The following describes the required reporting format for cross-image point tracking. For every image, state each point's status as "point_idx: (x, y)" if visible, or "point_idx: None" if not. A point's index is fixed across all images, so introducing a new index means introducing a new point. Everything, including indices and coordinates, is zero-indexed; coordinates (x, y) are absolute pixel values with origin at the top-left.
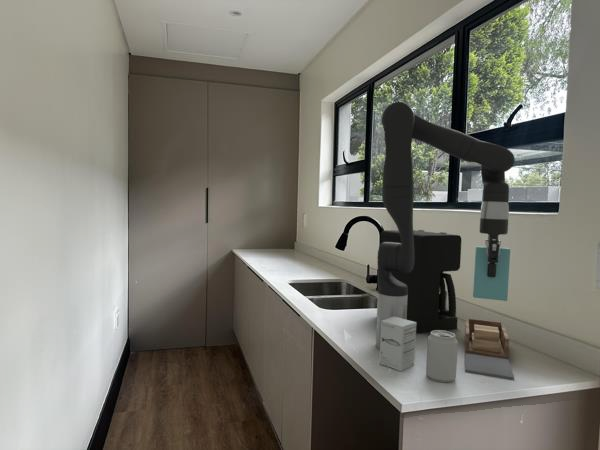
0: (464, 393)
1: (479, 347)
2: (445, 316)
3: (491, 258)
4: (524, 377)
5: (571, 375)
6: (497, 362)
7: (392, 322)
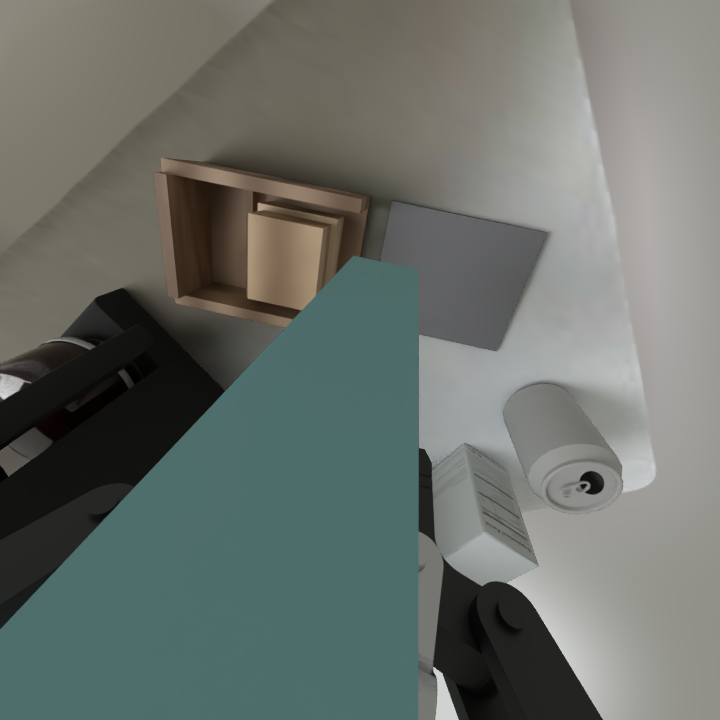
0: (627, 379)
1: None
2: (110, 337)
3: (490, 692)
4: (525, 190)
5: None
6: (427, 248)
7: (503, 579)
